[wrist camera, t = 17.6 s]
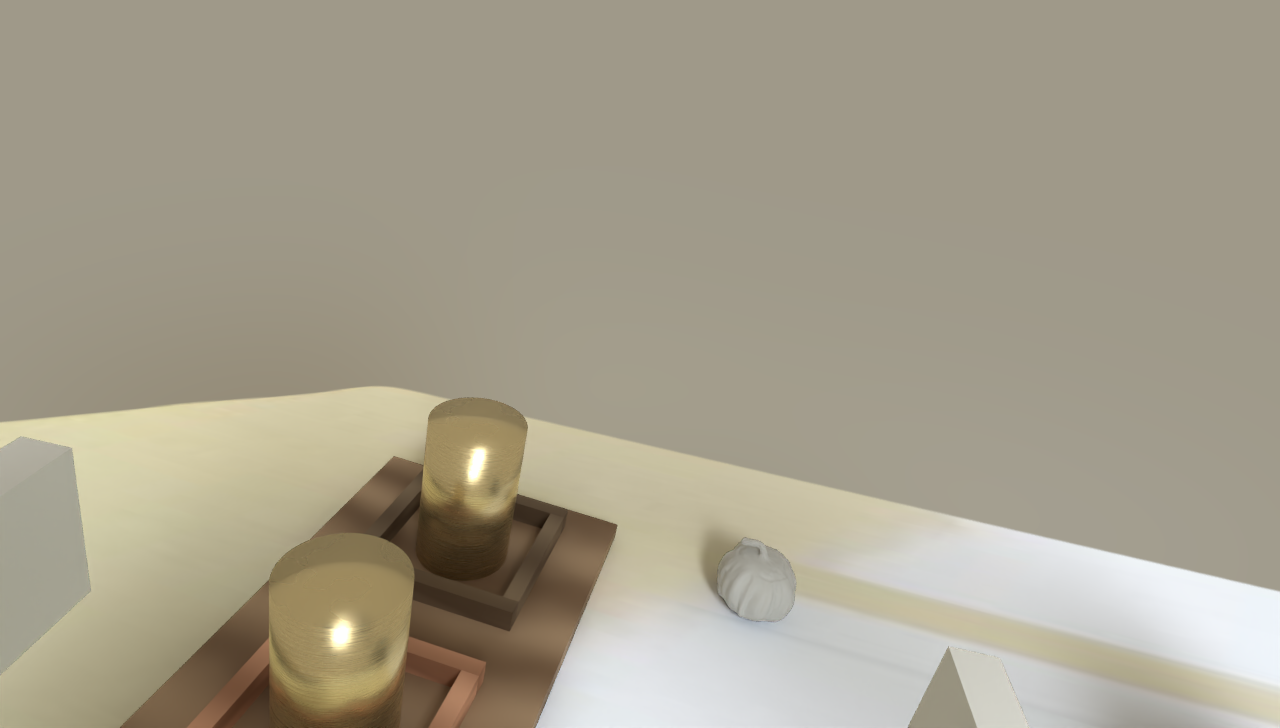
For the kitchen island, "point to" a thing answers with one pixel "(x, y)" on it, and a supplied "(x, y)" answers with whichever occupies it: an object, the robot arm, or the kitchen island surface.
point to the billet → (469, 487)
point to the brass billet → (339, 633)
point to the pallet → (423, 623)
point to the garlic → (756, 581)
